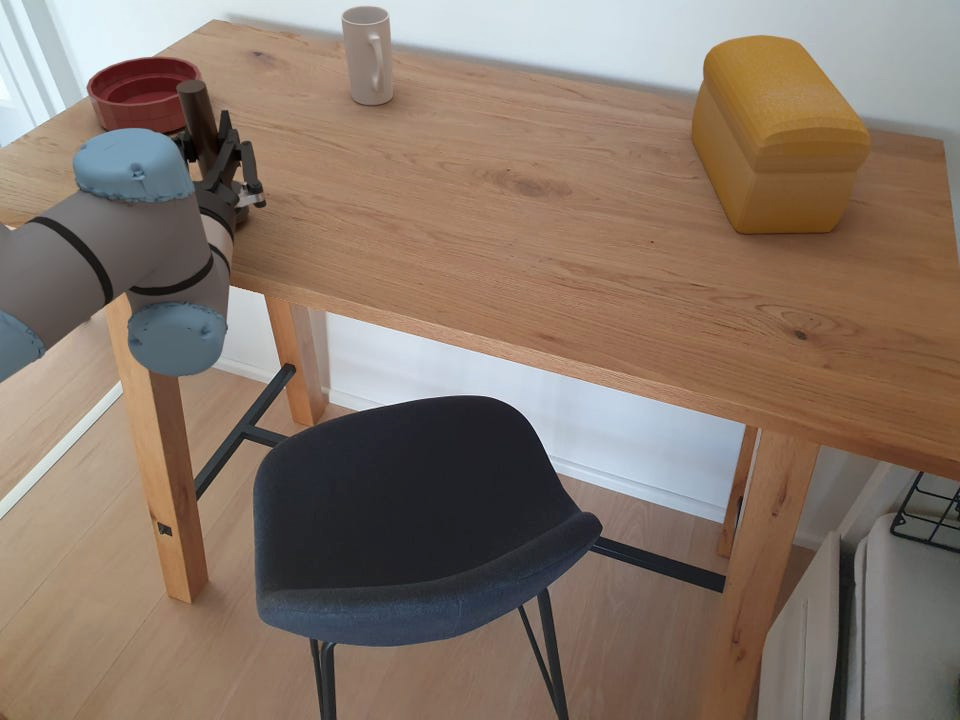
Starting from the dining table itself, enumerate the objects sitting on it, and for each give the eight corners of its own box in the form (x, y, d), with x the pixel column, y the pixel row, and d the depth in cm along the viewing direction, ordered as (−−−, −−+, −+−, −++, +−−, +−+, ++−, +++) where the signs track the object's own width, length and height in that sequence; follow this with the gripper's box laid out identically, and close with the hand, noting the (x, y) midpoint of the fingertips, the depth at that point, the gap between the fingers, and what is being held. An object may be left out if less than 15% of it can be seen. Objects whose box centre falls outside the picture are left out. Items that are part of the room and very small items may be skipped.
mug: (345, 89, 117) (335, 9, 108) (387, 82, 119) (381, 2, 110) (362, 120, 110) (354, 36, 102) (407, 112, 112) (402, 29, 104)
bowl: (90, 143, 105) (76, 109, 101) (108, 92, 116) (97, 59, 112) (204, 135, 107) (195, 101, 103) (212, 85, 117) (204, 53, 114)
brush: (199, 229, 90) (160, 100, 78) (203, 202, 94) (166, 75, 82) (248, 224, 90) (216, 96, 79) (250, 198, 94) (220, 72, 83)
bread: (838, 233, 92) (887, 118, 81) (733, 235, 92) (767, 119, 81) (775, 131, 109) (808, 25, 99) (686, 132, 109) (709, 26, 98)
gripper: (117, 280, 75) (149, 156, 91) (284, 264, 77) (286, 145, 93) (90, 216, 69) (129, 96, 86) (270, 200, 71) (275, 86, 88)
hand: (211, 122), depth 89 cm, fingers closed on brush, 3 cm apart
